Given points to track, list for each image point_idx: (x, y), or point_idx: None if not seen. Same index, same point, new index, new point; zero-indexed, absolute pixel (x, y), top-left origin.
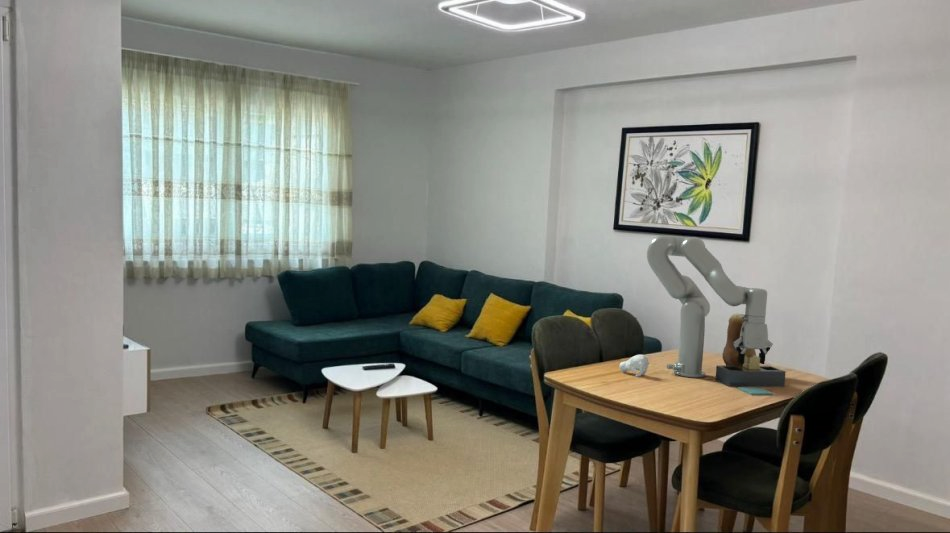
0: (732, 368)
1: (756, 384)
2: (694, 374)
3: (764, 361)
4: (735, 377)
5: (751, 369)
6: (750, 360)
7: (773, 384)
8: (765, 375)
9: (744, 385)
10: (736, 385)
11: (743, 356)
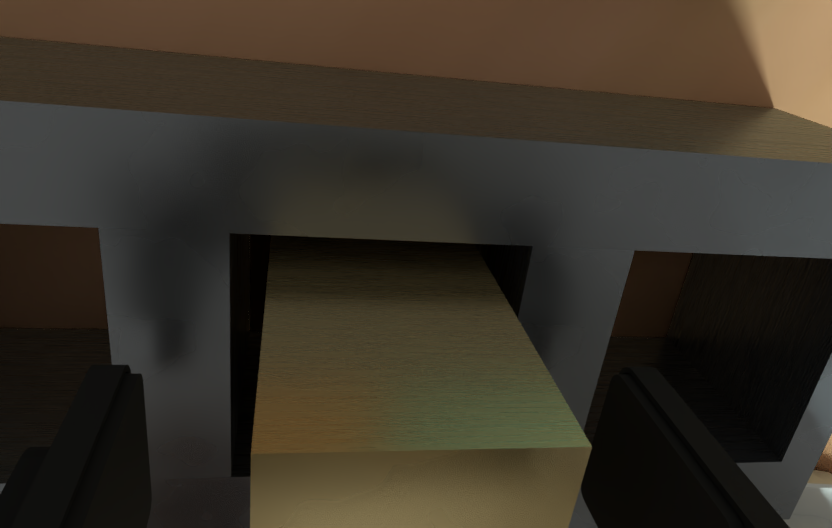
0: None
1: (382, 77)
2: (809, 505)
3: (76, 401)
4: (782, 135)
5: (443, 274)
6: (538, 386)
7: (54, 49)
8: (214, 96)
9: (570, 93)
10: (685, 104)
11: (748, 482)
